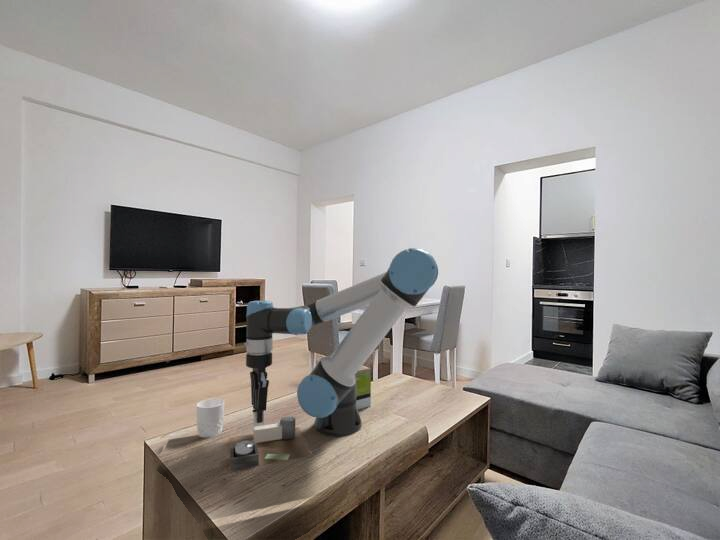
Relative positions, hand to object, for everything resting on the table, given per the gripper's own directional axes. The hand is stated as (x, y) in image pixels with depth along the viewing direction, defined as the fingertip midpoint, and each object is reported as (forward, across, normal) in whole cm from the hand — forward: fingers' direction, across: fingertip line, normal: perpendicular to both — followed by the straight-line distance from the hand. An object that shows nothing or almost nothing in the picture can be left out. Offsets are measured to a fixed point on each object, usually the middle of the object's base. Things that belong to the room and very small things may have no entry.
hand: (258, 432), depth 101 cm
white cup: (+3, -10, -12) cm, 16 cm away
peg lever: (+1, +5, +4) cm, 6 cm away
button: (0, +12, -7) cm, 14 cm away
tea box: (+3, -13, +38) cm, 40 cm away
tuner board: (+2, +8, +1) cm, 8 cm away
